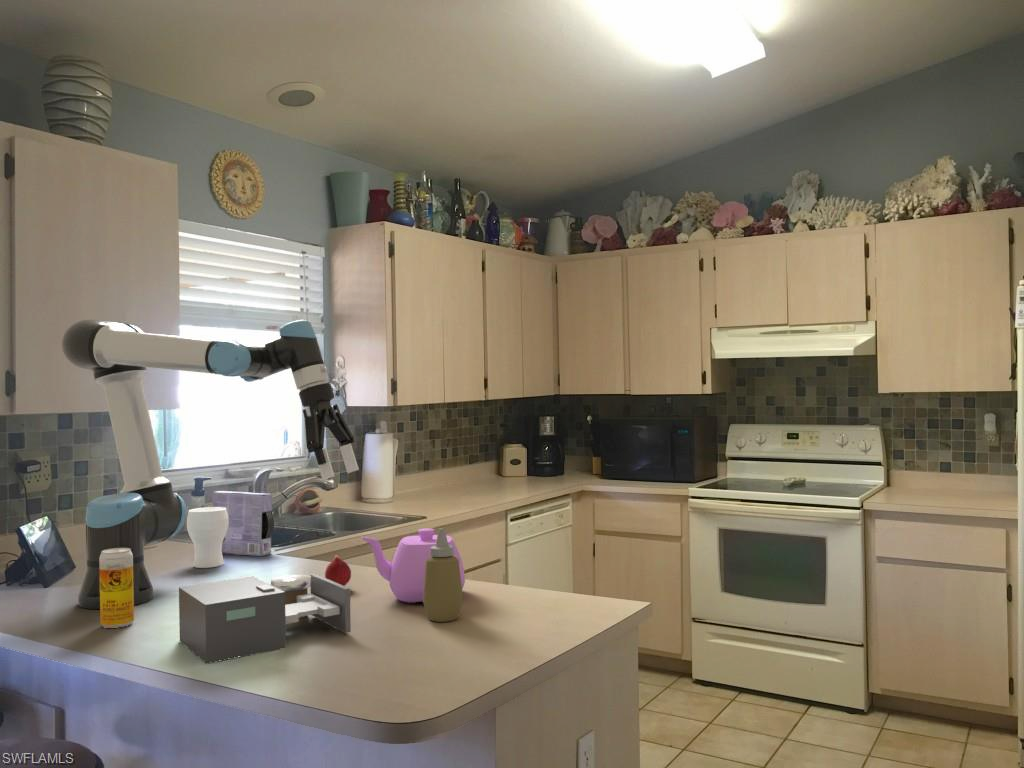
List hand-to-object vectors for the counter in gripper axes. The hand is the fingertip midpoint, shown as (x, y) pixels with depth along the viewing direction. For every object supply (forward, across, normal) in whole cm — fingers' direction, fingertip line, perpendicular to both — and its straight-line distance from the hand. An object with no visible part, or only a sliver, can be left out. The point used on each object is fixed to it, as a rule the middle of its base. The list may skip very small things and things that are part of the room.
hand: (341, 474), depth 195 cm
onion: (+25, +2, +10) cm, 27 cm away
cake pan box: (+12, +40, +55) cm, 69 cm away
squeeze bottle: (+34, -19, -20) cm, 44 cm away
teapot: (+32, -2, -11) cm, 34 cm away
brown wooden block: (+25, -21, +10) cm, 34 cm away
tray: (+26, -32, +3) cm, 41 cm away
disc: (+19, -21, +8) cm, 30 cm away
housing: (+24, -41, +12) cm, 49 cm away
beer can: (+15, -33, +40) cm, 54 cm away
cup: (+12, +24, +55) cm, 61 cm away
